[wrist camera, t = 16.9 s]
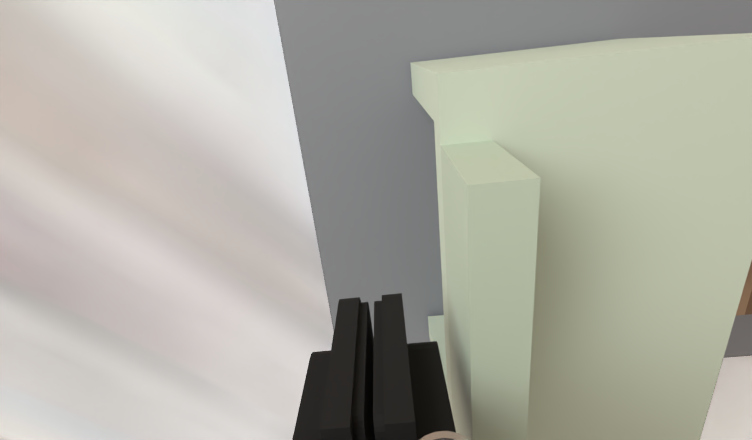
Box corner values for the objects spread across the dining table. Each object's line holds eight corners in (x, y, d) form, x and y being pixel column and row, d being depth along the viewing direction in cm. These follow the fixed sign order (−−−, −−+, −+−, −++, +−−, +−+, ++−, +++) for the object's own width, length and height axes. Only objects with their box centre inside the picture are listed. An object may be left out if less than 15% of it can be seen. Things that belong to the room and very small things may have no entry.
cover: (586, 321, 21) (774, 565, 11) (429, 335, 21) (475, 583, 11) (620, 38, 15) (1031, 21, 6) (410, 62, 16) (465, 83, 6)
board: (768, 337, 23) (872, 414, 18) (345, 372, 24) (338, 454, 19) (913, -95, 15) (1165, -163, 10) (277, -17, 16) (235, -44, 11)
